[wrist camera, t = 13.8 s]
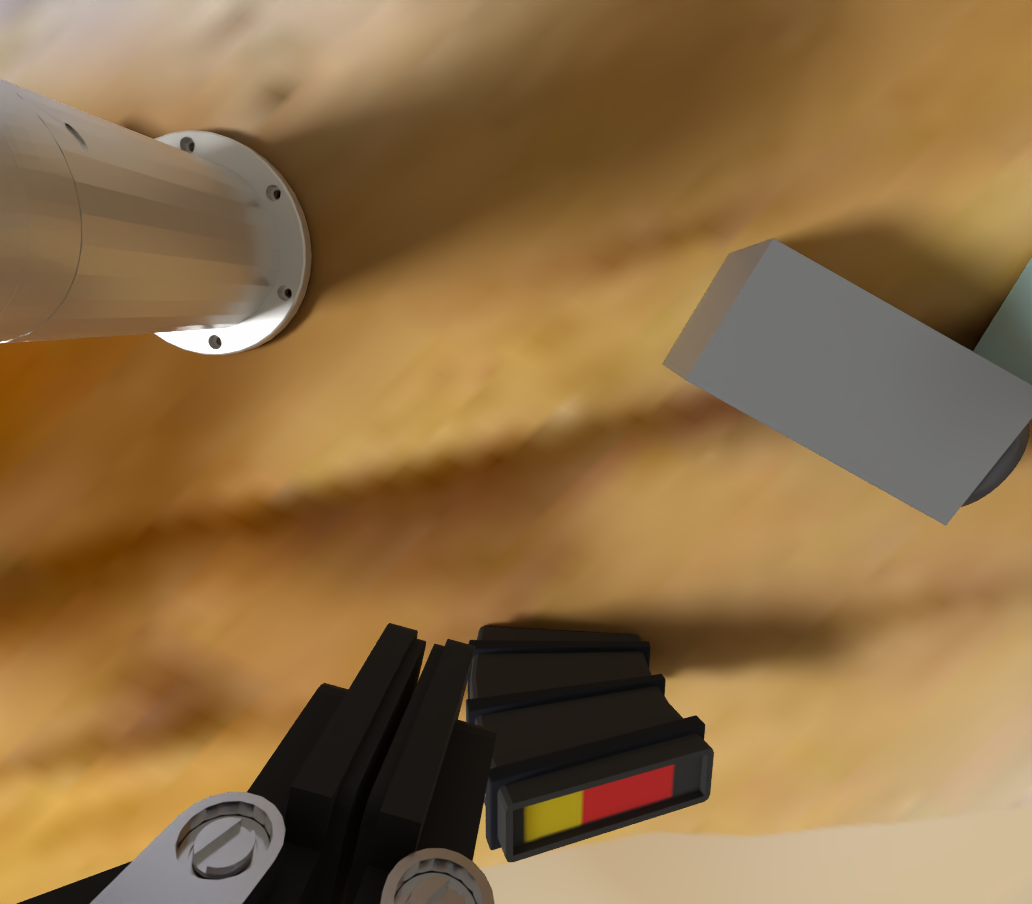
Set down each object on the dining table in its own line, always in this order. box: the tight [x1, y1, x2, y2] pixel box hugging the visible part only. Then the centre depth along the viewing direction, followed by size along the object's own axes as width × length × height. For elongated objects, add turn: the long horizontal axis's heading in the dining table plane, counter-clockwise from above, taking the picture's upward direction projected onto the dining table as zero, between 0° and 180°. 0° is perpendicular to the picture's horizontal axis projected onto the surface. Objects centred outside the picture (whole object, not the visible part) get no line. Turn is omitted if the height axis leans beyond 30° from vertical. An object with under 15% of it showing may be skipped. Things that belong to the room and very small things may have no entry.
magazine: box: [466, 626, 714, 862], centre depth 35 cm, size 4×13×15 cm, turn 90°
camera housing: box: [663, 238, 1032, 525], centre depth 31 cm, size 15×7×8 cm, turn 62°
